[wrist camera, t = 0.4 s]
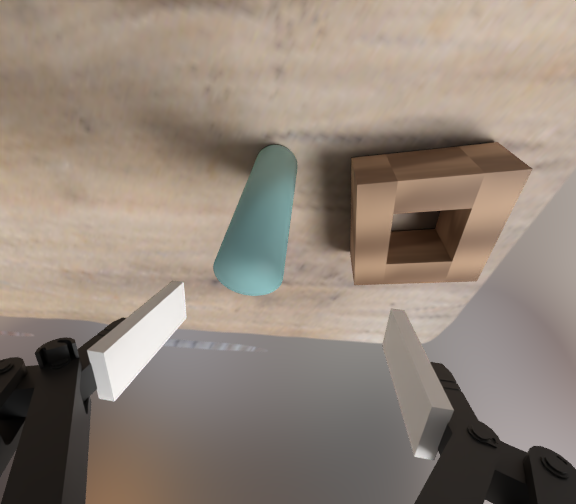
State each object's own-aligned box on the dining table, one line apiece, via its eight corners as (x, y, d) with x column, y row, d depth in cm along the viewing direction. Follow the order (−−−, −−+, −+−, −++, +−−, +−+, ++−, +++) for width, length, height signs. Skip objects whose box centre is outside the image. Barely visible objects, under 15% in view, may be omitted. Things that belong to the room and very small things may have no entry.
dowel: (251, 147, 24) (202, 250, 14) (294, 142, 24) (276, 245, 13) (260, 186, 27) (225, 296, 17) (299, 182, 26) (287, 294, 16)
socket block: (351, 157, 24) (357, 184, 21) (497, 142, 22) (532, 169, 19) (350, 253, 32) (354, 284, 29) (457, 247, 30) (476, 281, 27)
